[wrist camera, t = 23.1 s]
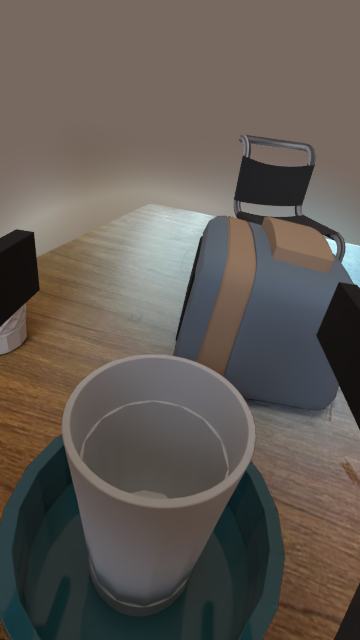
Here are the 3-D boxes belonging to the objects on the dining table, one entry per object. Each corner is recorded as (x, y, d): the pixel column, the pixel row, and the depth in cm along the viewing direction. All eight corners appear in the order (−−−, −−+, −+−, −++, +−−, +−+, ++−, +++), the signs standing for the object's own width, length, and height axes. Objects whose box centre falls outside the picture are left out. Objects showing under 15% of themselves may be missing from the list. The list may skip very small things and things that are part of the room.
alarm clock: (183, 312, 46) (202, 194, 38) (299, 332, 46) (344, 216, 38) (166, 393, 32) (189, 235, 24) (332, 423, 32) (414, 271, 24)
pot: (-58, 711, 14) (-92, 680, 12) (70, 437, 27) (67, 392, 24) (276, 773, 14) (316, 753, 12) (248, 467, 27) (264, 425, 24)
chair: (270, 265, 67) (306, 143, 55) (324, 308, 53) (386, 158, 42) (211, 264, 63) (236, 133, 52) (252, 311, 49) (299, 146, 38)
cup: (71, 657, 16) (53, 528, 10) (75, 496, 22) (66, 357, 16) (225, 615, 18) (292, 487, 12) (188, 479, 24) (219, 350, 18)
